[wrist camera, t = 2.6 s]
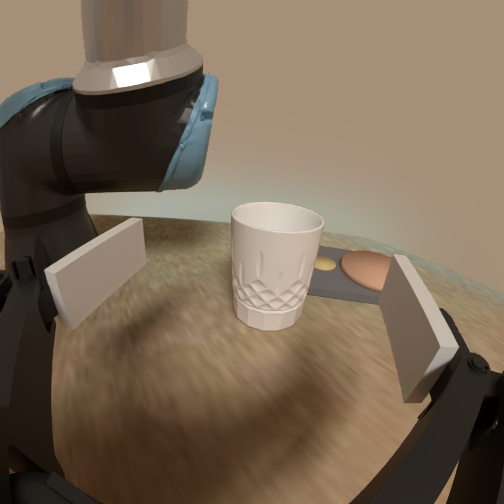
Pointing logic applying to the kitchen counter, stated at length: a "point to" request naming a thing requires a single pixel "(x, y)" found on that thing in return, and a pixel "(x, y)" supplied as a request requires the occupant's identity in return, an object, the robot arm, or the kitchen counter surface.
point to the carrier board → (349, 274)
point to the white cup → (272, 262)
